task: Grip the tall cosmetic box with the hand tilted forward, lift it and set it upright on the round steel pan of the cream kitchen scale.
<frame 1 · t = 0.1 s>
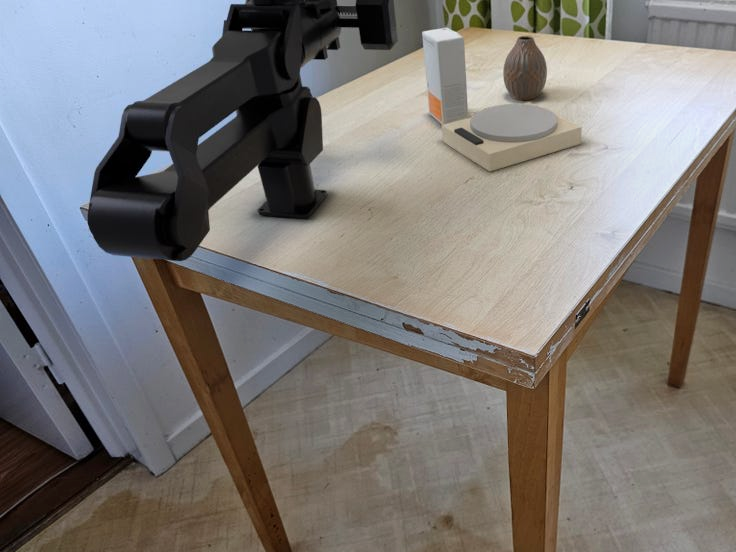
hand: (345, 4, 89), 17 cm above the table, tool horizontal, fingers open, 9 cm apart
vase: (524, 97, 108), on the table
scale: (510, 142, 93), on the table
cosmetic box: (448, 119, 101), on the table
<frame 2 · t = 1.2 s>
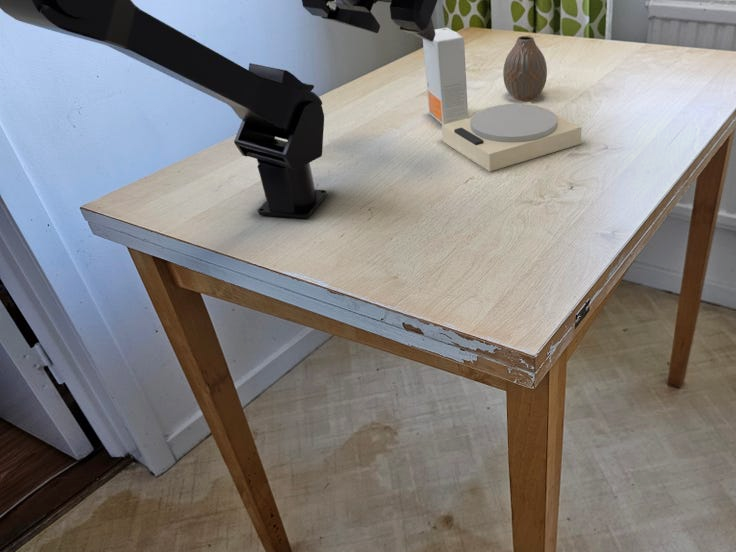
hand: (405, 33, 87), 14 cm above the table, tool tilted 45°, fingers open, 9 cm apart
nothing on the table moved.
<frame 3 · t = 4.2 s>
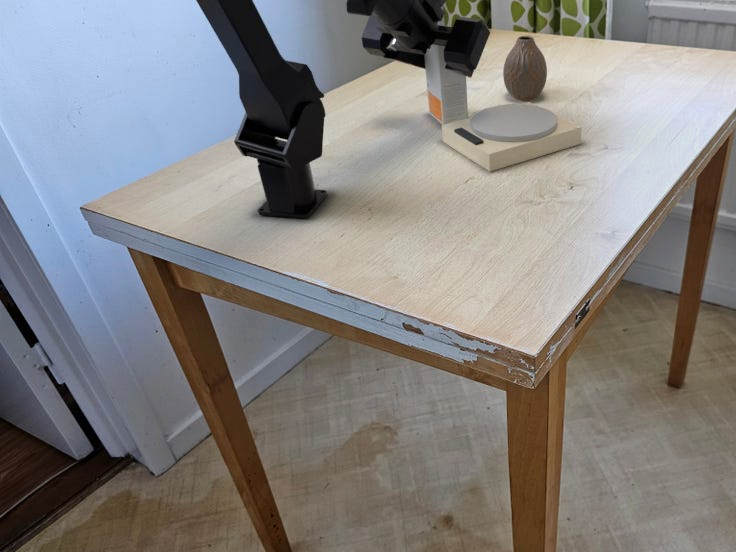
hand: (451, 70, 98), 7 cm above the table, tool tilted 45°, fingers closed on cosmetic box, 7 cm apart
cosmetic box: (448, 119, 101), on the table, touching gripper
everything else where it was.
when the fingers open (10 cm above the table, at t = 9.3 s): cosmetic box stays where it is, resting on scale.
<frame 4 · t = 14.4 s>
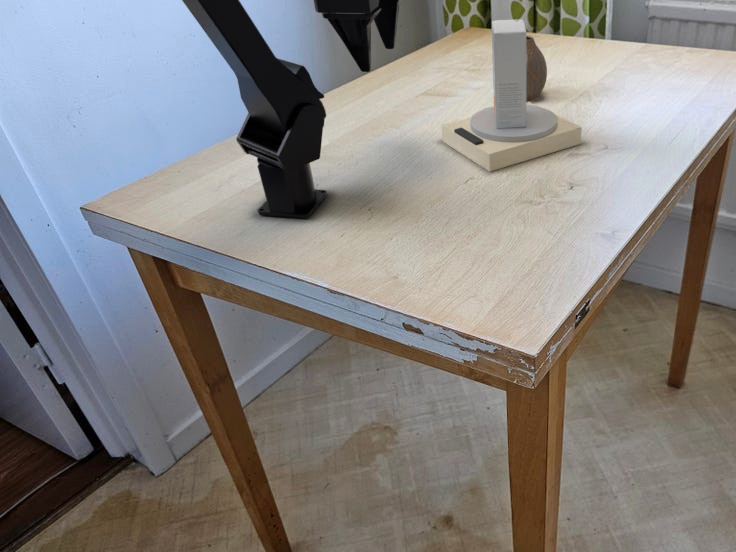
hand: (378, 59, 82), 13 cm above the table, tool pointing down, fingers open, 9 cm apart
cosmetic box: (509, 121, 91), point 3 cm above the table, touching scale
everything else where it was.
at the end: cosmetic box inside the target area on the scale (0.1 cm from its centre), point 3.0 cm above the scale's base; cosmetic box tilted 0°; the gripper is holding nothing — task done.
